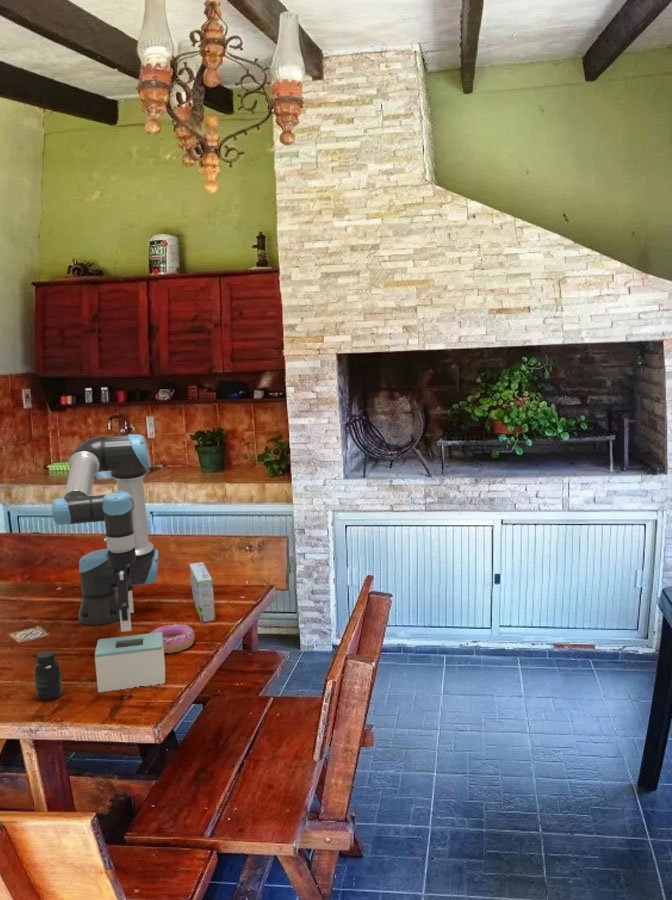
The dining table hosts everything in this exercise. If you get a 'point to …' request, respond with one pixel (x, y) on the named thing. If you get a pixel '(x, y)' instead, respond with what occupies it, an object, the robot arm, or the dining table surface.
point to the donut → (176, 637)
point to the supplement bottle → (47, 676)
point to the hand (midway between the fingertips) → (127, 621)
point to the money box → (130, 662)
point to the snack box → (202, 592)
